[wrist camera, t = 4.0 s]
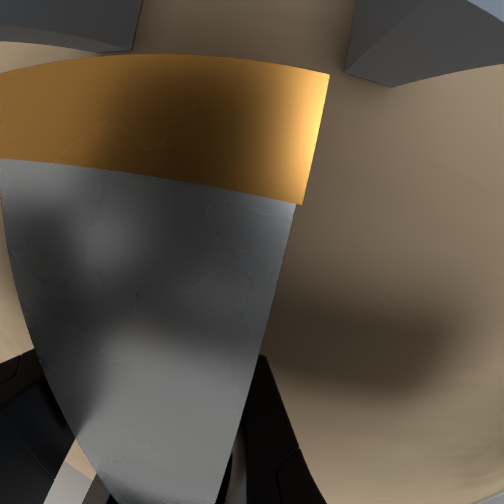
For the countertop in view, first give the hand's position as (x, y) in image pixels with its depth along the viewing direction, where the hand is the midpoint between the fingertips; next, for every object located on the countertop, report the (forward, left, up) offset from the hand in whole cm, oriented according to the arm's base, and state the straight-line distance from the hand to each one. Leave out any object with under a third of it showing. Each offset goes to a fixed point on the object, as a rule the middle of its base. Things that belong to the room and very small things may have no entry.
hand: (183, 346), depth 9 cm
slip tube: (0, +4, -1) cm, 4 cm away
